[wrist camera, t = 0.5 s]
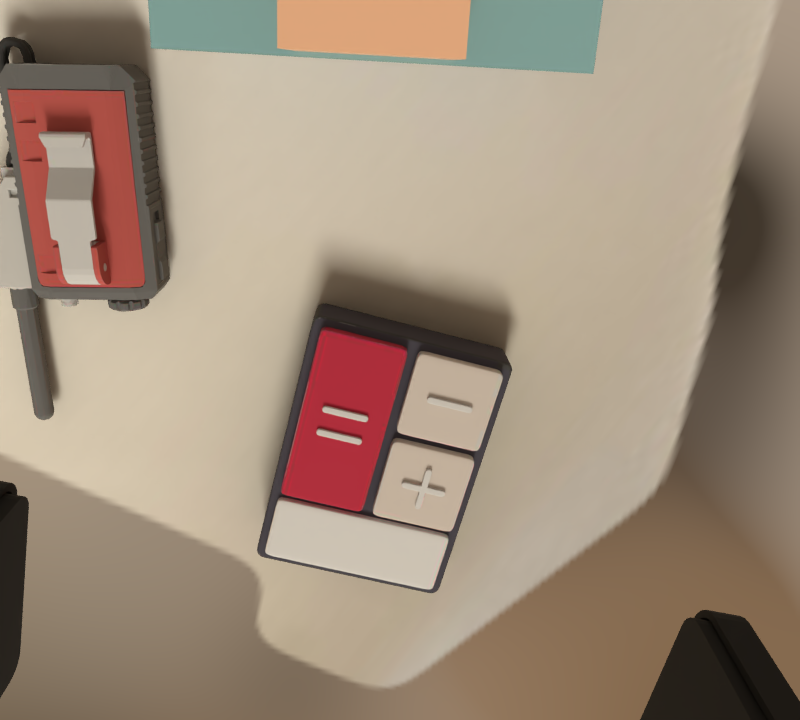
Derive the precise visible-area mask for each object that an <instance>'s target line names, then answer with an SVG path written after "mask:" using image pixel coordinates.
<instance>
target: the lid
mask: <svg viewBox="0 0 800 720" xmlns="http://www.w3.org/2000/svg"><path fill="white" fill-rule="evenodd" d="M602 5H603V0H148V6H149V23H150V39H151V48H155V49H172V50H189V51H207V52H224V53H241V54H259V55H276V56H294V57H311V58H328V59H346V60H363V61H380V62H398V63H415V64H432V65H450V66H467V67H484V68H502V69H519V70H536V71H554V72H571V73H589V74H593V72H594V64H595V57H596V50H597V42H598V35H599V28H600V20H601V13H602Z"/></svg>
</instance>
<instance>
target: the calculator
mask: <svg viewBox="0 0 800 720" xmlns="http://www.w3.org/2000/svg"><path fill="white" fill-rule="evenodd" d="M511 371H512V368H511V365H510V363H509V361H508V359H507V357H506V355H505V353H504V351H503V350H502V349H500V348H497V347H494V346H490V345H486V344H482V343H478V342H474V341H470V340H466V339H462V338H458V337H454V336H450V335H447V334H443V333H439V332H435V331H431V330H427V329H423V328H419V327H415V326H411V325H407V324H403V323H399V322H396V321H392V320H388V319H384V318H380V317H376V316H372V315H368V314H364V313H360V312H356V311H352V310H348V309H345V308H341V307H337V306H333V305H329V304H321V305H319V306H318V308H317V310H316V313H315V316H314V319H313V323H312V327H311V331H310V335H309V339H308V343H307V347H306V351H305V355H304V359H303V364H302V368H301V372H300V376H299V380H298V384H297V388H296V392H295V396H294V400H293V404H292V408H291V412H290V417H289V421H288V425H287V429H286V433H285V437H284V441H283V445H282V449H281V453H280V457H279V461H278V466H277V470H276V474H275V478H274V482H273V486H272V490H271V494H270V498H269V502H268V506H267V510H266V514H265V519H264V523H263V527H262V531H261V535H260V539H259V543H258V548H257V551H258V554H259V555H260V556H262V557H265V558H270V559H274V560H279V561H284V562H288V563H293V564H297V565H302V566H307V567H311V568H316V569H321V570H325V571H330V572H334V573H339V574H344V575H348V576H353V577H358V578H362V579H367V580H372V581H376V582H381V583H385V584H390V585H395V586H399V587H404V588H409V589H413V590H418V591H422V592H427V593H434V592H436V591H437V590H438V589H439V587H440V584H441V581H442V578H443V575H444V572H445V569H446V566H447V563H448V560H449V557H450V554H451V551H452V548H453V545H454V542H455V539H456V536H457V533H458V530H459V527H460V524H461V521H462V518H463V515H464V512H465V509H466V506H467V503H468V500H469V497H470V494H471V491H472V488H473V485H474V482H475V479H476V476H477V474H478V471H479V468H480V465H481V462H482V459H483V456H484V453H485V450H486V447H487V444H488V441H489V438H490V435H491V432H492V429H493V426H494V423H495V420H496V417H497V414H498V411H499V408H500V405H501V402H502V399H503V396H504V393H505V390H506V387H507V384H508V381H509V378H510V375H511Z"/></svg>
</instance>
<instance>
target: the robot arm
mask: <svg viewBox="0 0 800 720" xmlns="http://www.w3.org/2000/svg"><path fill="white" fill-rule="evenodd" d="M28 506H29V503H28V500H27V498H26V497H23V496H18V495H17V489H16V487H15V485H14V484H13V483H8V482H3V481H0V697H1V695H2V694H3V692H4V691H5V689H6V688H7V686H8V684H9V683H10V681H11V679H12V677H13V675H14V672H15V670H16V667H17V664H18V660H19V656H20V645H21V628H22V612H23V595H24V578H25V560H26V543H27V525H28V510H29V507H28ZM640 720H800V701H799V700H798V698H797V697H796V695H795V694H794V692H793V690H792V689H791V687H790V686H789V684H788V683H787V681H786V680H785V678H784V677H783V675H782V673H781V672H780V670H779V669H778V667H777V665H776V664H775V663H774V661H773V659H772V658H771V656H770V655H769V653H768V651H767V650H766V648H765V647H764V645H763V644H762V642H761V641H760V639H759V638H758V636H757V635H756V633H755V631H754V630H753V628H752V627H751V625H750V623H749V622H748V621H747V620H746V619H745V618H743V617H741V616H737V615H731V614H726V613H720V612H715V611H709V610H702V611H700V612H699V613H697V614H696V616H695V618H688V619H686V620H685V621H684V623H683V625H682V626H681V629H680V631H679V633H678V636H677V638H676V640H675V642H674V645H673V647H672V649H671V652H670V654H669V656H668V658H667V660H666V663H665V666H664V667H663V670H662V672H661V674H660V676H659V679H658V681H657V683H656V686H655V688H654V690H653V692H652V694H651V697H650V699H649V701H648V704H647V706H646V708H645V710H644V713H643V715H642V717H641V719H640Z"/></svg>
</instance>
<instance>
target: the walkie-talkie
mask: <svg viewBox="0 0 800 720" xmlns="http://www.w3.org/2000/svg"><path fill="white" fill-rule="evenodd" d="M12 46H15V47H18V48H19V49H20V51H21V53H22V56H23V60H24V63H23V64H9V59H8V56H9V52H10V48H11V47H12ZM149 81H150V79H149V78H148V77H147V76H146V75H145V74H144V73H143V72H142V71H141V70H140V69H139V68H138V67H137V66H136V65H96V64H38V63H36V60H35V55H34V52H33V50H32V48H31V46H30V45H29V44H28V43H27V42H26V41H25V40H22V39H18V38H15V37H7V38H3V39H2V40H1V41H0V93H1V97H2V101H1V105H3V109H4V113H3V117H5V121H6V125H5V128H6V129H7V133H8V136H7V140H8V141H9V147H10V148H9V151H8V154H7V157H6V165H7V166H5V167H1V168H0V169H1V175H2V182H1V184H0V288H10V292H11V299H12V305H13V308H15V309H16V310H17V316H18V321H19V327H20V333H21V339H22V344H23V350H24V356H25V362H26V367H27V373H28V379H29V385H30V390H31V396H32V402H33V408H34V413H35V415H36V417H37V418H38V419H41V420H46V419H49V418H51V417H52V416H53V414H54V406H53V400H52V394H51V388H50V382H49V376H48V370H47V364H46V358H45V352H44V346H43V340H42V334H41V328H40V322H39V316H38V309H37V306H38V305H39V299H38V296H39V297H40V298H46V299H57V300H61V302H62V306H65V307H71V306H76V305H77V304H78V299H89V300H108V304H109V307H110V308H111V309H113V310H117V311H134V310H139V309H142V308H145V307H146V306H148V304H149V299H151V298H153V297H154V296H155V295H156V294H157V293H158V292H159V291H160V290H161V289H162V288H163V287H164V286H165V285H166V283H167V282H168V280H169V279H170V277H169V266H168V256H167V246H166V236H165V226H164V216H163V206H162V199H161V198H160V195H159V192H161V188H159V185H158V181H160V178H159V177H158V175H157V171H158V170H159V167H157V165H156V160H157V159H158V156H156V155H155V149H157V146H156V145H154V138H156V136H155V134H153V127H154V126H155V125H154V123H153V122H152V116H153V112H152V111H151V104H152V100H150V95H149V93H151V89H149V85H148V82H149Z"/></svg>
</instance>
